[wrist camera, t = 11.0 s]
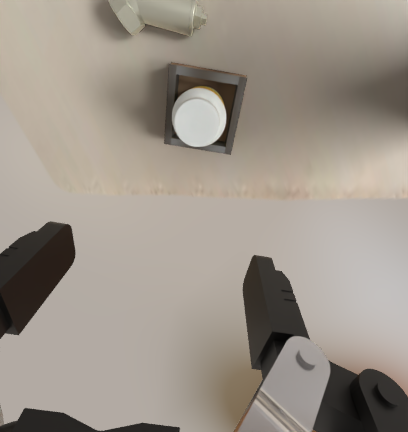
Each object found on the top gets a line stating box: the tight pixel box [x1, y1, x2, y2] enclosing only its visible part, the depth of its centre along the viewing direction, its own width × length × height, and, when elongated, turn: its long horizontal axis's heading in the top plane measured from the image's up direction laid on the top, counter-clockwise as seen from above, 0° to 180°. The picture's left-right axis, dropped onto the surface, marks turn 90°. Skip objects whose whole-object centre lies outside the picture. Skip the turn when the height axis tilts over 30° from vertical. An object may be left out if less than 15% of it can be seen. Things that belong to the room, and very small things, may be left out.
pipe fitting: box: [108, 0, 207, 36], centre depth 23 cm, size 8×4×7 cm
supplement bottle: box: [172, 86, 226, 147], centre depth 24 cm, size 5×5×10 cm
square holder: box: [164, 62, 247, 155], centre depth 28 cm, size 9×9×3 cm
